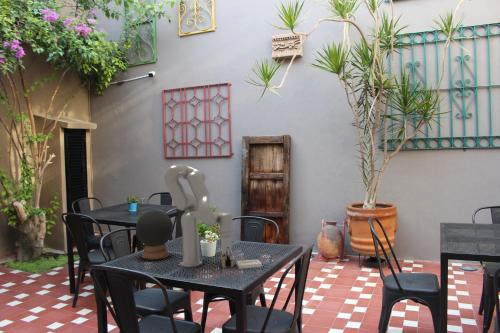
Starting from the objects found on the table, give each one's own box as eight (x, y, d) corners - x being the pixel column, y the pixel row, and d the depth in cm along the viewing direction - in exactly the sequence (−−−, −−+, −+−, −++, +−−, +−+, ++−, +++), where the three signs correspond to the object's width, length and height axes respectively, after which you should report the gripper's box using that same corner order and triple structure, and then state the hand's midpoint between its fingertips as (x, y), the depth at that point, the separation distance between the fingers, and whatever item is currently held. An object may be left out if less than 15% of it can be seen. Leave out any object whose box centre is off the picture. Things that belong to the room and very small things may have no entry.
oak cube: (221, 264, 259) (221, 254, 259) (231, 264, 260) (231, 253, 260) (222, 267, 253) (222, 257, 253) (233, 266, 255) (233, 256, 254)
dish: (236, 264, 259) (236, 261, 259) (258, 262, 262) (257, 259, 261) (239, 268, 249) (239, 265, 249) (261, 267, 252) (261, 263, 252)
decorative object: (158, 263, 267) (156, 213, 265) (128, 259, 277) (127, 212, 276) (181, 254, 287) (179, 208, 286) (153, 251, 298) (151, 207, 297)
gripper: (218, 231, 264) (219, 261, 265) (222, 237, 247) (223, 269, 248) (230, 230, 265) (231, 260, 266) (235, 236, 249) (236, 268, 249)
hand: (227, 264), depth 257 cm, fingers closed on oak cube, 6 cm apart
